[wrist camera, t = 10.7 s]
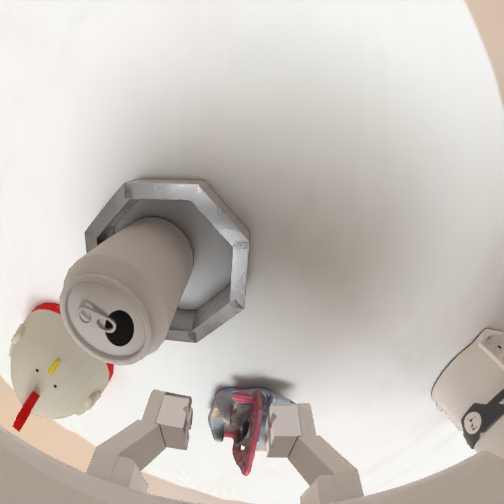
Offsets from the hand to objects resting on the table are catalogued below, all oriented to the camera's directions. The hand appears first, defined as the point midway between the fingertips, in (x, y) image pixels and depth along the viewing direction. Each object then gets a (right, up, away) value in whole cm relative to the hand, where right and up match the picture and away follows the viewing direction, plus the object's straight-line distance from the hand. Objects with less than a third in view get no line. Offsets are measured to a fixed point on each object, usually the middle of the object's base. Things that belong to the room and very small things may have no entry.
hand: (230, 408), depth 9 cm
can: (-8, +6, +15) cm, 18 cm away
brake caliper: (0, -14, +23) cm, 26 cm away
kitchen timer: (-23, -7, +19) cm, 31 cm away
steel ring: (-7, +6, +15) cm, 18 cm away
